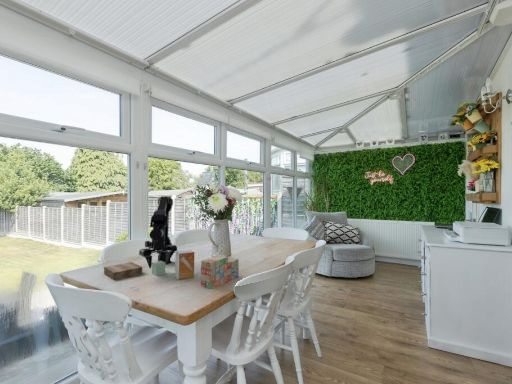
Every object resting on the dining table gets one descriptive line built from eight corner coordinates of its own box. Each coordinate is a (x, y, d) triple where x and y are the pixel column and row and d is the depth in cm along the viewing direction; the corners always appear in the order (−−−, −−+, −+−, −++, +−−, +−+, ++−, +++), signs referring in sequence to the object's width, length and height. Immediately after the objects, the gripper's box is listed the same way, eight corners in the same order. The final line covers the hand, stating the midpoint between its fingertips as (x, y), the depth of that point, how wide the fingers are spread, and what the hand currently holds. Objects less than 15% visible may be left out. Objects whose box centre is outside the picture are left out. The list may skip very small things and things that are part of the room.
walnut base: (131, 269, 146) (131, 262, 146) (142, 274, 137) (142, 267, 137) (103, 274, 136) (104, 267, 136) (113, 281, 127) (113, 272, 127)
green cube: (160, 271, 141) (160, 260, 141) (165, 273, 137) (165, 262, 137) (151, 273, 137) (151, 262, 137) (156, 276, 134) (156, 264, 134)
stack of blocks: (229, 274, 138) (229, 251, 138) (238, 276, 134) (239, 253, 134) (200, 286, 120) (200, 260, 120) (210, 289, 116) (211, 262, 116)
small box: (178, 279, 128) (179, 253, 128) (174, 276, 133) (175, 251, 134) (194, 277, 133) (194, 251, 133) (190, 273, 138) (190, 249, 138)
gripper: (167, 233, 150) (167, 260, 150) (134, 237, 136) (134, 266, 136) (177, 235, 142) (177, 264, 142) (144, 239, 128) (143, 271, 128)
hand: (158, 266), depth 137 cm, fingers open, 9 cm apart
